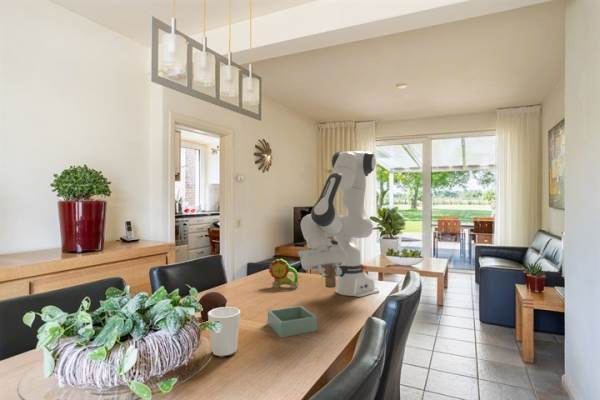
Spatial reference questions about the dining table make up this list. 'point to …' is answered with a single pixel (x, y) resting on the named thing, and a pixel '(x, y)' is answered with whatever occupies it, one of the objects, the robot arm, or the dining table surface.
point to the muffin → (211, 303)
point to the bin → (292, 321)
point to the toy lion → (283, 274)
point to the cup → (225, 330)
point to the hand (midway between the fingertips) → (331, 275)
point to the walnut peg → (330, 276)
